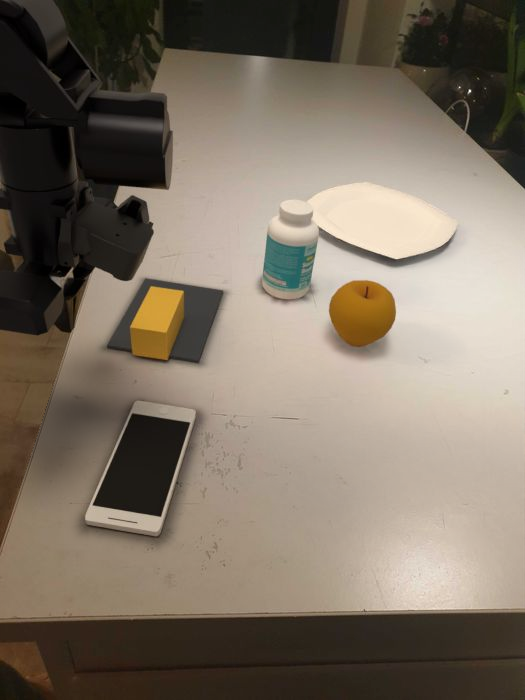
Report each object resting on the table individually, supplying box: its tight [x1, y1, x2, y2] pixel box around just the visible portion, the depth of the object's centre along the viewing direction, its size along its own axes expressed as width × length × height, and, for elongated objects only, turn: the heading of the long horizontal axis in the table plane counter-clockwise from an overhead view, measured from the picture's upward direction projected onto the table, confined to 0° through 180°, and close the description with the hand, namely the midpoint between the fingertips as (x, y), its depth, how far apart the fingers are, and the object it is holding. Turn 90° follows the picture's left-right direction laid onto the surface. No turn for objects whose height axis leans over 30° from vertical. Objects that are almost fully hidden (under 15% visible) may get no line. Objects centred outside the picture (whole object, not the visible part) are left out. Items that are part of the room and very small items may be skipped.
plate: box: [306, 181, 459, 261], centre depth 100 cm, size 27×27×2 cm
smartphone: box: [84, 400, 197, 537], centre depth 54 cm, size 7×16×1 cm, turn 173°
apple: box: [328, 279, 397, 348], centre depth 71 cm, size 9×9×9 cm
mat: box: [106, 277, 224, 364], centre depth 73 cm, size 12×16×1 cm
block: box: [130, 286, 184, 361], centre depth 68 cm, size 4×4×9 cm
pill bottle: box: [261, 199, 320, 300], centre depth 77 cm, size 8×7×14 cm
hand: (67, 330), depth 52 cm, fingers closed
